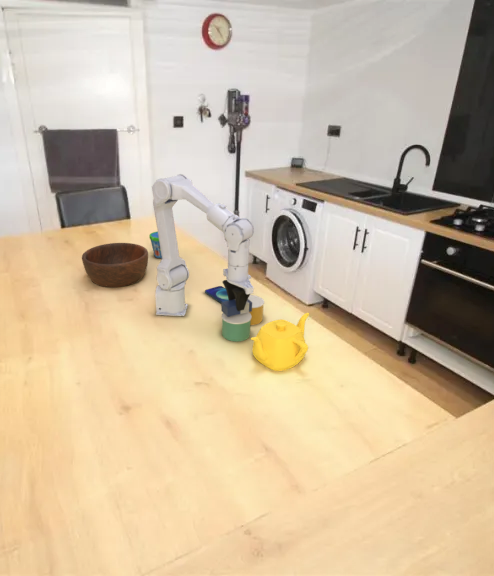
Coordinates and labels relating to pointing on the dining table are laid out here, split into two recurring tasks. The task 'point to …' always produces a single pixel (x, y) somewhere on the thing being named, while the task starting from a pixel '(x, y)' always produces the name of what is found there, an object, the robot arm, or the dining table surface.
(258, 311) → the ochre yogurt pot
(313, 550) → the dining table surface
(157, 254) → the snack cup
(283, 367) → the teapot
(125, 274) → the wooden bowl
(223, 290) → the smartphone
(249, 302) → the block
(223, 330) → the yogurt pot
